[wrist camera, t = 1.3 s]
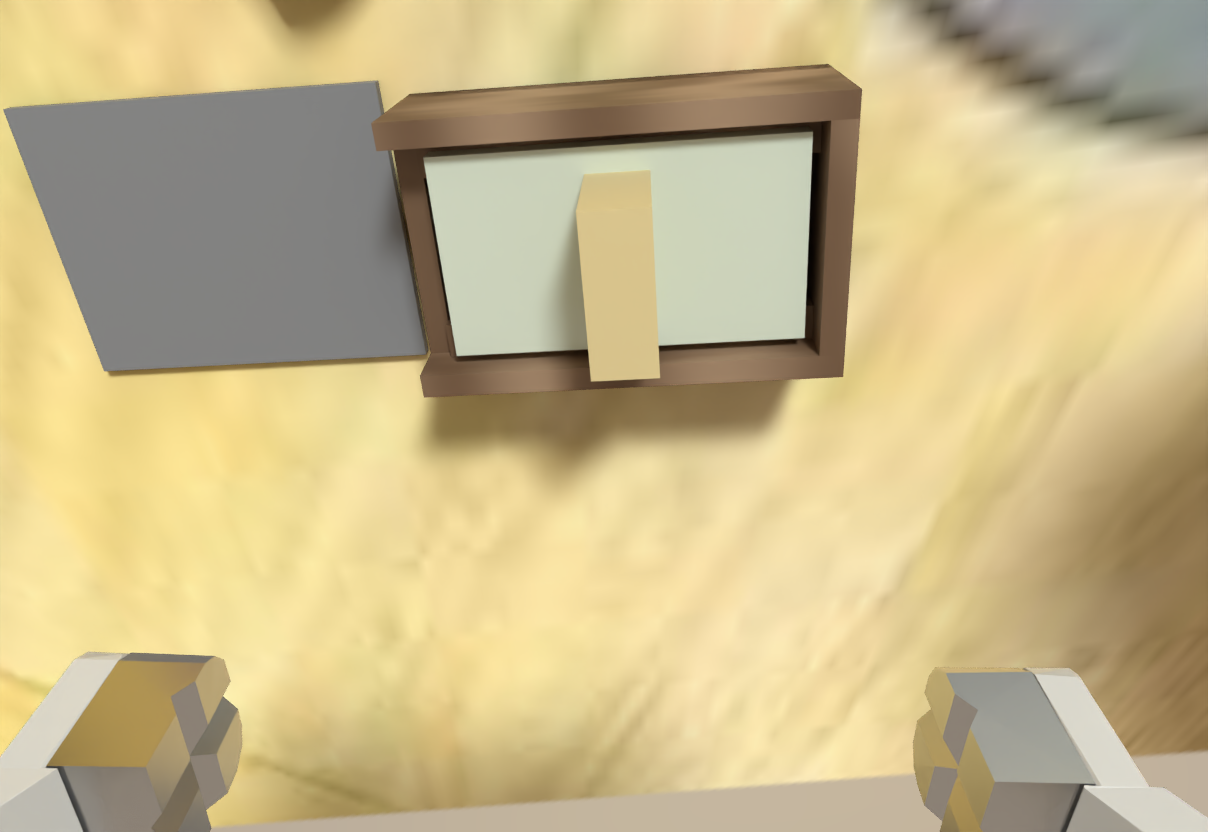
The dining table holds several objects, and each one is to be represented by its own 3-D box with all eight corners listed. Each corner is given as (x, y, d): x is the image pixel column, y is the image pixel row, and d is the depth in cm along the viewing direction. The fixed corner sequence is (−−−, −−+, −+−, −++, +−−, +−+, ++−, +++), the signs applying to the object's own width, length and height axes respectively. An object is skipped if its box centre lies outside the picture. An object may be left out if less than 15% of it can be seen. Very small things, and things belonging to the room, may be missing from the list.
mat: (378, 80, 30) (374, 82, 29) (428, 350, 35) (426, 354, 34) (10, 107, 31) (3, 109, 30) (109, 366, 35) (104, 371, 35)
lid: (808, 126, 27) (840, 163, 22) (800, 328, 30) (827, 394, 26) (428, 151, 27) (390, 193, 23) (460, 346, 30) (432, 413, 26)
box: (828, 64, 29) (862, 89, 25) (816, 317, 33) (842, 376, 29) (409, 94, 30) (370, 123, 26) (451, 336, 34) (424, 397, 30)
